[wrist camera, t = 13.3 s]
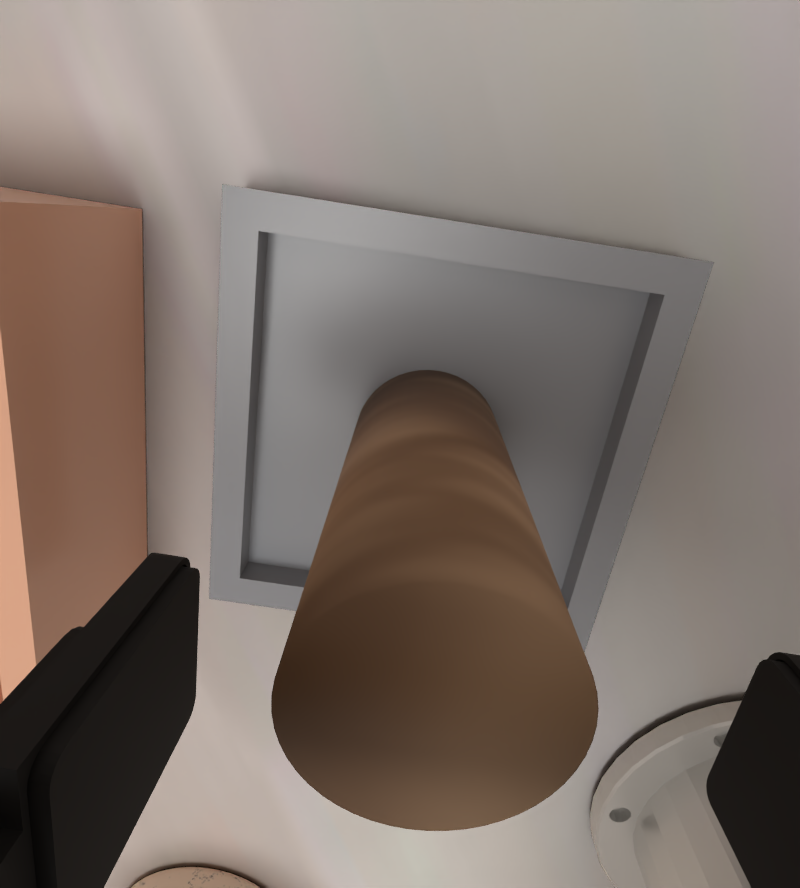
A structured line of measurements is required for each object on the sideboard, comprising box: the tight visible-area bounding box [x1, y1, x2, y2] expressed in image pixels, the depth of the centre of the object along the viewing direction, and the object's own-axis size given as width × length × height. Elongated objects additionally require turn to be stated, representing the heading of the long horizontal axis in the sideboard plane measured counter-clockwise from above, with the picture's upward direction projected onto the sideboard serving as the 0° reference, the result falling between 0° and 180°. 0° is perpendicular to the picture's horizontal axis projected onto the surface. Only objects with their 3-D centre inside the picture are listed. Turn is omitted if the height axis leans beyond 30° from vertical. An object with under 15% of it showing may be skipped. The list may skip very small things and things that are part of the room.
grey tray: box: [209, 184, 714, 652], centre depth 18 cm, size 13×13×2 cm
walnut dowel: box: [272, 370, 598, 831], centre depth 13 cm, size 4×4×11 cm
